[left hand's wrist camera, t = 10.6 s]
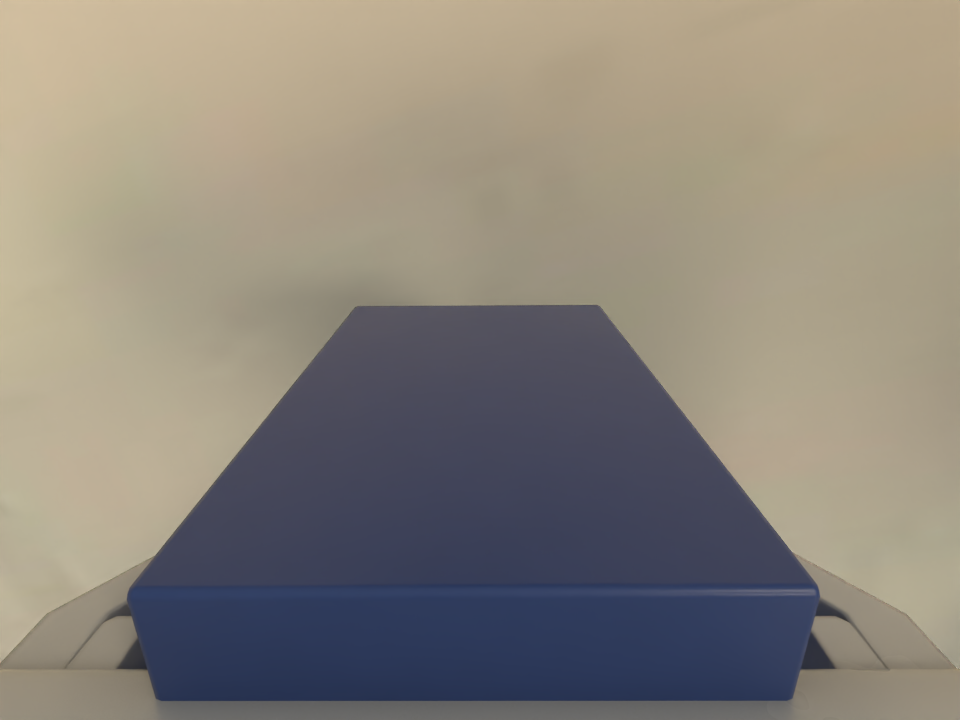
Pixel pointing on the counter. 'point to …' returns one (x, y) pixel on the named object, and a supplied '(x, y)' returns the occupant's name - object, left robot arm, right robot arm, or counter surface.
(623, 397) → the box
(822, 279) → the counter surface
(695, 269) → the counter surface
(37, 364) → the counter surface
